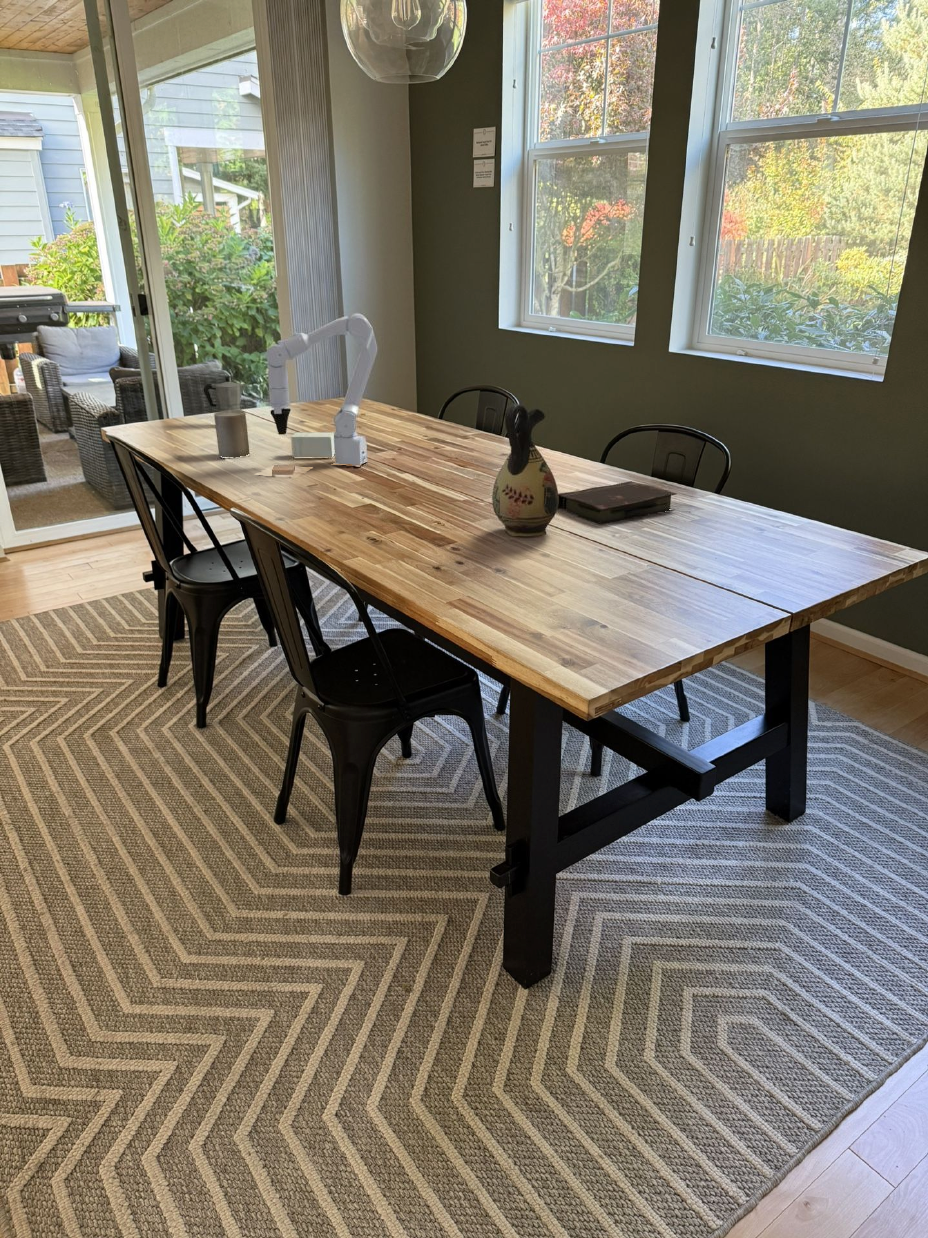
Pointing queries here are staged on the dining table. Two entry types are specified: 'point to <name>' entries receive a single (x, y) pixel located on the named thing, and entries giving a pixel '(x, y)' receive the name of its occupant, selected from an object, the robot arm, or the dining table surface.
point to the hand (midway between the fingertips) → (282, 433)
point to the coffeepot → (226, 394)
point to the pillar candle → (232, 433)
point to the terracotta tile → (283, 470)
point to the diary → (616, 502)
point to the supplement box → (313, 445)
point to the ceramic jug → (524, 479)
